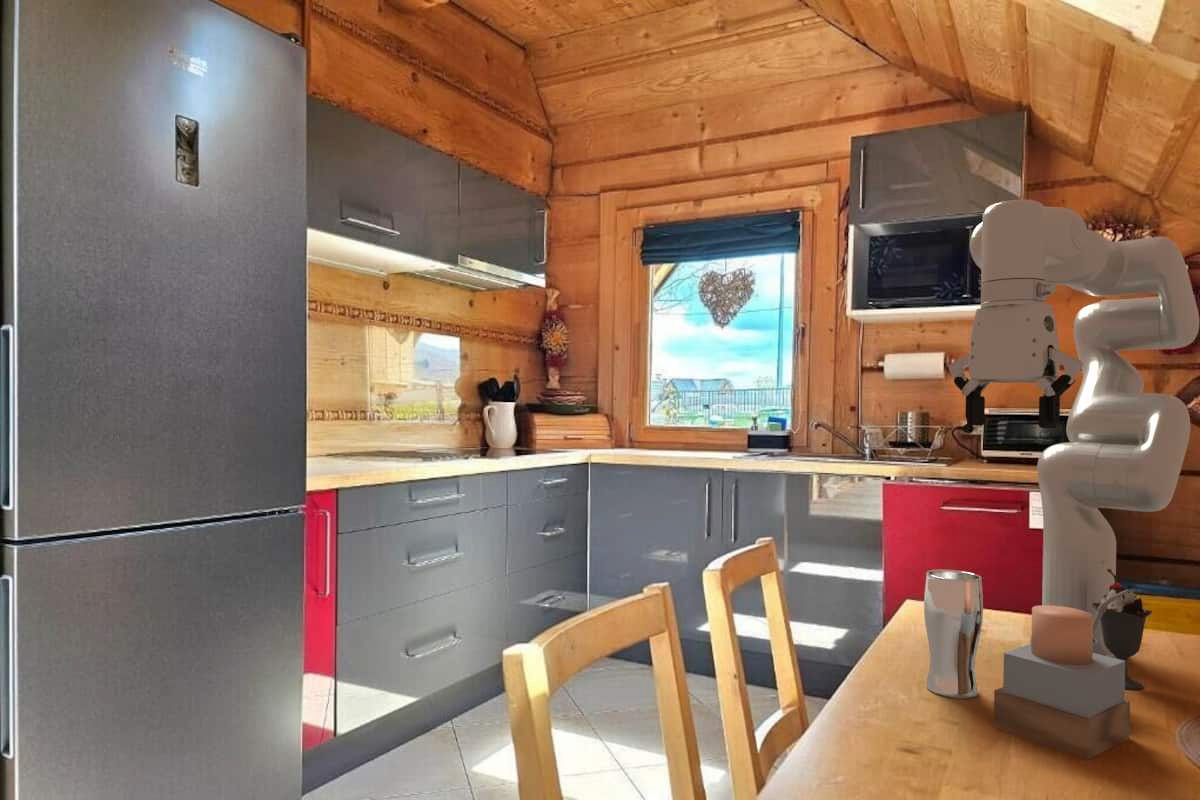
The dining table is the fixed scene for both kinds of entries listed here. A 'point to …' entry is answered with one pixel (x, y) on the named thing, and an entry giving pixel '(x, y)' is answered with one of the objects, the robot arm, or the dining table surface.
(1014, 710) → the walnut base block
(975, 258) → the robot arm
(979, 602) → the beer glass
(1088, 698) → the slate top block
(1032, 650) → the peach rounded cylinder
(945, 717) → the dining table surface
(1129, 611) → the sundae
